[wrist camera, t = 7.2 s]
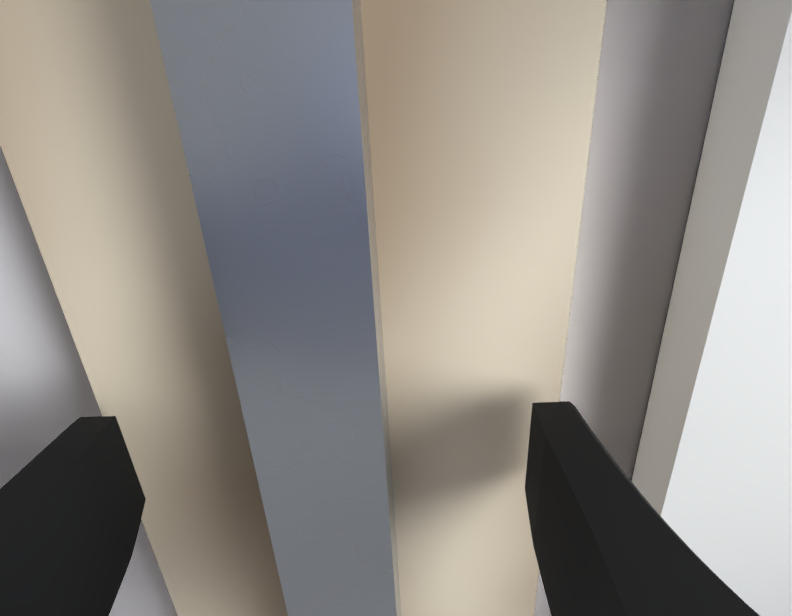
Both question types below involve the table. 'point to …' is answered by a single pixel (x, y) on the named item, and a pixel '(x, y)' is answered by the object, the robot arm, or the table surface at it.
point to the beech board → (397, 263)
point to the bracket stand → (733, 330)
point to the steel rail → (295, 277)
